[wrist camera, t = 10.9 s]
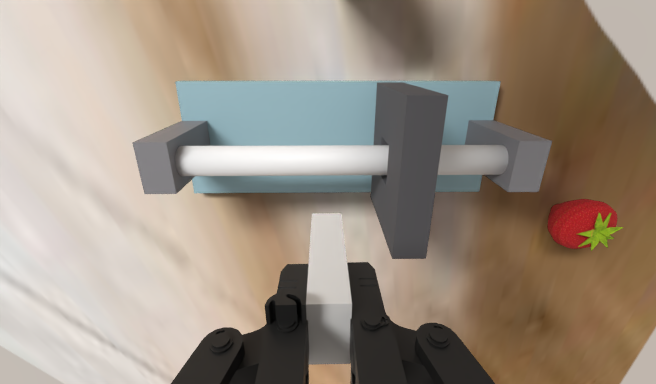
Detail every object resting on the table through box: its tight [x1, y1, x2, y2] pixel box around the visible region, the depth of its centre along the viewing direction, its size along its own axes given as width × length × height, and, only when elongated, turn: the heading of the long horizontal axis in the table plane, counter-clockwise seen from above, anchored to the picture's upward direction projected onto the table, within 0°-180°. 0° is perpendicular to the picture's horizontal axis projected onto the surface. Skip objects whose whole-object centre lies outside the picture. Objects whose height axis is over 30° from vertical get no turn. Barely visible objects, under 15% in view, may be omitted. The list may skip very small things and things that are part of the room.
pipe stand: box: [133, 81, 552, 194], centre depth 36 cm, size 38×14×12 cm, turn 90°
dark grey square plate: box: [371, 82, 449, 259], centre depth 32 cm, size 3×14×14 cm, turn 0°
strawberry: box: [548, 199, 623, 251], centre depth 41 cm, size 6×8×10 cm
